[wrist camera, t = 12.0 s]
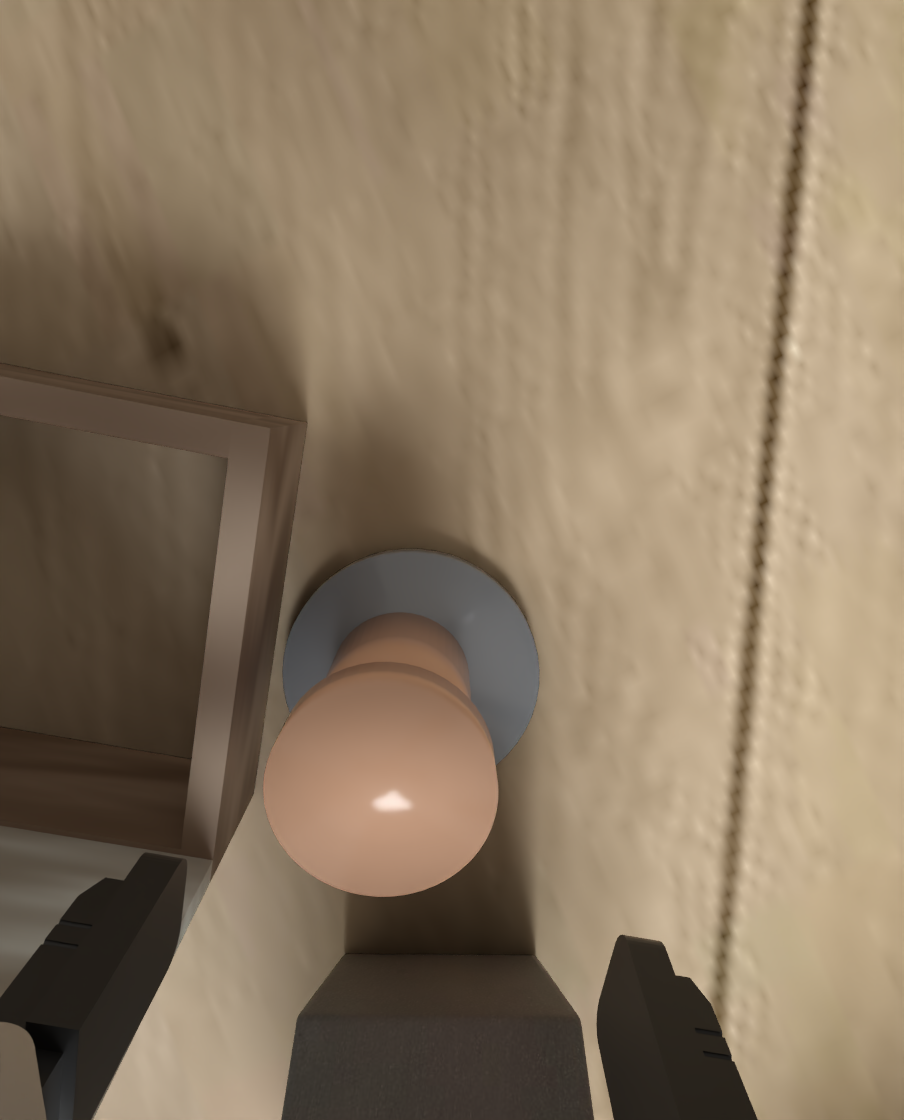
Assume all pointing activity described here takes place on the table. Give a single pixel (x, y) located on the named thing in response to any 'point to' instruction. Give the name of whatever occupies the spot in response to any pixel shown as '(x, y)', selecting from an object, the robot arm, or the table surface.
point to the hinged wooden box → (225, 694)
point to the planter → (438, 1042)
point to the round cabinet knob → (385, 764)
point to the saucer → (443, 596)
